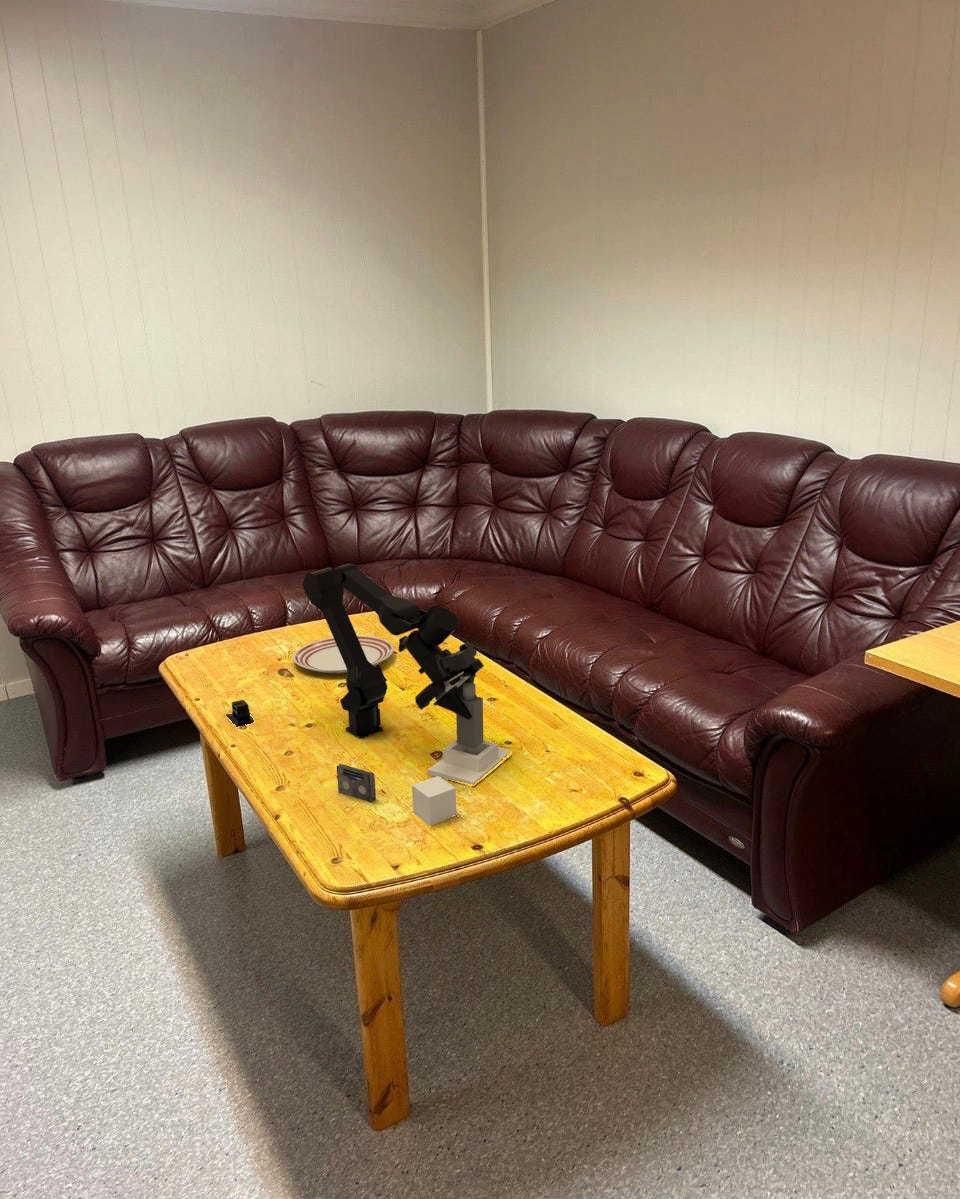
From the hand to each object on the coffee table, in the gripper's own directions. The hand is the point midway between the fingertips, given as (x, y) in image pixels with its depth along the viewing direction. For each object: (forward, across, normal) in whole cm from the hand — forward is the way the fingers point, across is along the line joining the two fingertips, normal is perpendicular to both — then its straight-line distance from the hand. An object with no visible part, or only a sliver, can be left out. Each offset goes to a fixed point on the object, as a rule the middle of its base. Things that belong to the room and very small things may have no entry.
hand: (475, 715), depth 192 cm
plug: (+4, 0, +6) cm, 7 cm away
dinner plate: (-36, +35, +54) cm, 74 cm away
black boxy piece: (-34, -7, +52) cm, 63 cm away
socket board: (+7, 0, +9) cm, 12 cm away
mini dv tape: (-2, -22, +19) cm, 29 cm away
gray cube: (+11, -20, +6) cm, 24 cm away
